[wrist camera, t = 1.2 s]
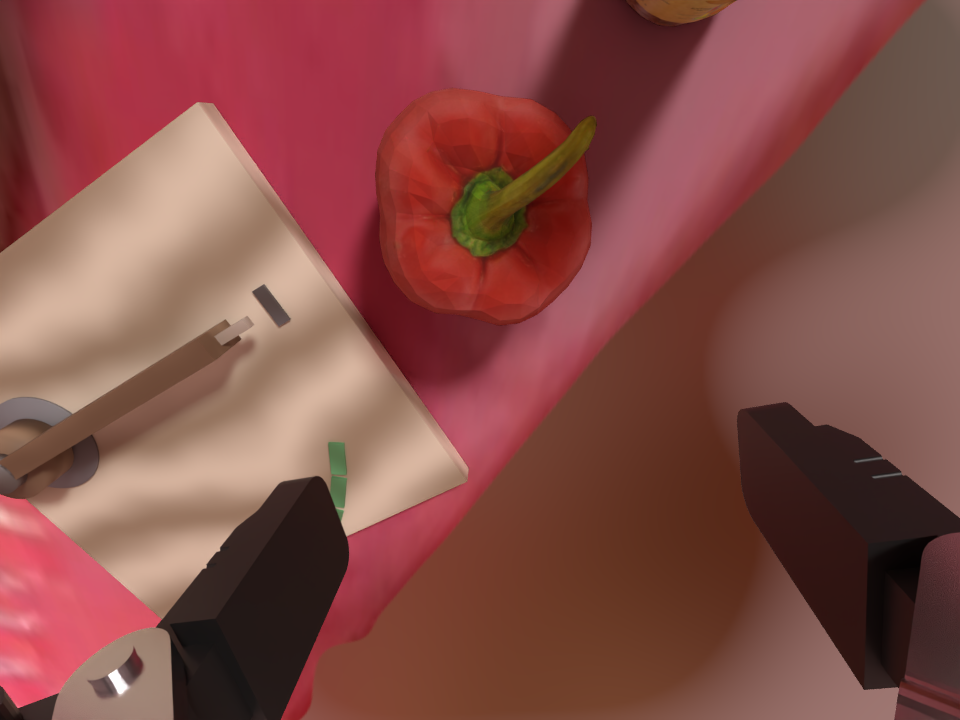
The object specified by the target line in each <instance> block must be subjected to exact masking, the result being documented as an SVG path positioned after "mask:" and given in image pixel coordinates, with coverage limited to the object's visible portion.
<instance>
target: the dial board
mask: <svg viewBox="0 0 960 720" xmlns="http://www.w3.org/2000/svg"><path fill="white" fill-rule="evenodd" d="M246 316H248V317H249V318H250V320H251V321H252V322H253V323H254V326H252V327H251V328H250V329H248V330H247V331H245V332H243V333H242V334H240V335H239V336H240V338H241V340H240V341H239V342H238V343H236V344H235V345H234V346H233V347H232V348H230V349H229V350H228V351H227V352H225V353H224V354H223V355H222V356H220V357H219V358H218V359H217V360H215V361H214V362H212V363H210V364H209V365H207V366H205V367H204V368H202V369H200V370H199V371H197V372H195V373H194V374H192V375H190V376H189V377H187V378H185V379H184V380H182V381H180V382H179V383H177V384H175V385H174V386H172V387H170V388H169V389H167V390H165V391H164V392H162V393H160V394H159V395H157V396H155V397H154V398H152V399H150V400H149V401H147V402H145V403H144V404H142V405H140V406H139V407H137V408H135V409H134V410H132V411H130V412H129V413H127V414H125V415H124V416H122V417H120V418H119V419H117V420H115V421H114V422H112V423H110V424H109V425H107V426H105V427H104V428H102V429H100V430H98V431H97V432H95V433H93V434H92V435H90V436H88V437H87V438H85V439H83V440H82V441H80V442H78V443H77V444H75V445H73V446H72V450H73V454H74V461H73V464H72V466H71V468H70V469H69V470H68V471H67V472H65V473H64V474H63V475H61V476H60V477H59V478H58V479H56V480H55V481H54V482H53V483H51V484H50V485H49V486H47V487H46V488H45V489H44V490H42V491H41V492H40V493H39V494H37V495H36V496H34V497H31V498H26V499H27V500H28V501H29V502H30V503H31V504H32V505H33V506H34V507H36V508H37V509H38V510H39V511H40V512H41V513H42V514H43V515H45V516H46V517H47V518H48V519H49V520H50V521H51V522H53V523H54V524H55V525H56V526H57V527H58V528H59V529H60V530H62V531H63V532H64V533H65V534H66V535H67V536H68V537H69V538H71V539H72V540H73V541H74V542H75V543H76V544H77V545H78V546H80V547H81V548H82V549H83V550H84V551H85V552H86V553H88V554H89V555H90V556H91V557H92V558H93V559H94V560H95V561H97V562H98V563H99V564H100V565H101V566H102V567H103V568H104V569H106V570H107V571H108V572H109V573H110V574H111V575H112V576H114V577H115V578H116V579H117V580H118V581H119V582H120V583H121V584H123V585H124V586H125V587H126V588H127V589H128V590H129V591H130V592H132V593H133V594H134V595H135V596H136V597H137V598H138V599H139V600H141V601H142V602H143V603H144V604H145V605H146V606H147V607H149V608H150V609H151V610H152V611H153V612H154V613H155V614H156V615H158V616H159V617H160V618H161V619H163V618H164V617H165V615H166V614H167V613H168V612H169V610H170V609H171V608H172V607H173V605H174V604H175V603H176V602H177V600H178V599H179V598H180V597H181V595H182V594H183V593H184V592H185V590H186V589H187V588H188V587H189V585H190V584H191V583H192V582H193V580H194V579H195V578H196V577H197V575H198V574H199V573H200V572H201V570H202V569H205V568H206V567H207V565H206V564H207V563H208V562H209V560H210V559H211V558H212V557H213V555H214V554H215V553H216V552H218V551H220V547H221V546H222V544H223V543H224V542H225V541H226V539H227V538H228V537H229V536H230V534H231V533H232V532H233V531H234V529H235V528H236V527H237V526H239V525H240V524H241V523H242V522H244V521H245V520H246V519H247V518H249V517H250V516H251V515H252V514H254V513H255V512H256V511H257V510H259V508H260V507H261V506H262V504H263V503H264V502H265V501H266V499H267V498H268V497H269V495H270V494H271V493H272V492H273V490H274V489H275V488H276V486H277V485H278V484H279V483H281V482H283V481H288V480H294V479H300V478H306V477H313V476H319V477H321V478H323V480H324V481H325V482H326V484H327V486H328V489H329V492H330V494H331V497H332V499H333V502H334V505H335V507H336V510H337V513H338V515H339V518H340V521H341V523H342V526H343V529H344V531H345V534H346V536H348V535H351V534H353V533H355V532H357V531H359V530H362V529H364V528H366V527H368V526H370V525H373V524H375V523H377V522H379V521H381V520H384V519H386V518H388V517H390V516H392V515H395V514H397V513H399V512H401V511H403V510H406V509H408V508H410V507H412V506H414V505H417V504H419V503H421V502H423V501H425V500H428V499H430V498H432V497H434V496H436V495H439V494H441V493H443V492H445V491H447V490H450V489H452V488H454V487H456V486H458V485H461V484H463V483H465V482H467V478H468V466H467V465H466V464H465V462H464V461H463V459H462V458H461V457H460V455H459V454H458V452H457V451H456V449H455V448H454V447H453V445H452V444H451V442H450V441H449V439H448V438H447V437H446V435H445V434H444V432H443V431H442V429H441V428H440V427H439V425H438V424H437V422H436V421H435V419H434V418H433V417H432V415H431V414H430V412H429V411H428V409H427V408H426V407H425V405H424V404H423V402H422V401H421V399H420V398H419V397H418V395H417V394H416V392H415V391H414V389H413V388H412V387H411V385H410V384H409V382H408V381H407V379H406V378H405V377H404V375H403V374H402V372H401V371H400V369H399V368H398V367H397V365H396V364H395V362H394V361H393V360H392V358H391V357H390V355H389V354H388V352H387V351H386V350H385V348H384V347H383V345H382V344H381V342H380V341H379V340H378V338H377V337H376V335H375V334H374V332H373V331H372V330H371V328H370V327H369V325H368V324H367V322H366V321H365V320H364V318H363V317H362V315H361V314H360V312H359V311H358V310H357V308H356V307H355V305H354V304H353V302H352V301H351V300H350V298H349V297H348V295H347V294H346V292H345V291H344V290H343V288H342V287H341V285H340V284H339V282H338V281H337V280H336V278H335V277H334V275H333V274H332V272H331V271H330V270H329V268H328V267H327V265H326V264H325V263H324V261H323V260H322V258H321V257H320V255H319V254H318V253H317V251H316V250H315V248H314V247H313V245H312V244H311V243H310V241H309V240H308V238H307V237H306V235H305V234H304V233H303V231H302V230H301V228H300V227H299V225H298V224H297V223H296V221H295V220H294V218H293V217H292V215H291V214H290V213H289V211H288V210H287V208H286V207H285V205H284V204H283V203H282V201H281V200H280V198H279V197H278V195H277V194H276V193H275V191H274V190H273V188H272V187H271V185H270V184H269V183H268V181H267V180H266V178H265V177H264V175H263V174H262V173H261V171H260V170H259V168H258V167H257V166H256V164H255V163H254V161H253V160H252V158H251V157H250V156H249V154H248V153H247V151H246V150H245V148H244V147H243V146H242V144H241V143H240V141H239V140H238V138H237V137H236V136H235V134H234V133H233V131H232V130H231V128H230V127H229V126H228V124H227V123H226V121H225V120H224V118H223V117H222V116H221V114H220V113H219V111H218V110H217V108H216V107H215V106H214V104H212V103H201V102H197V103H196V104H195V105H193V106H192V107H191V108H189V109H188V110H187V111H185V112H184V113H183V114H181V115H180V116H179V117H178V118H176V119H175V120H174V121H172V122H171V123H170V124H168V125H167V126H166V127H164V128H163V129H162V130H161V131H159V132H158V133H157V134H155V135H154V136H153V137H151V138H150V139H149V140H147V141H146V142H145V143H144V144H142V145H141V146H140V147H138V148H137V149H136V150H134V151H133V152H132V153H130V154H129V155H128V156H127V157H125V158H124V159H123V160H121V161H120V162H119V163H117V164H116V165H115V166H113V167H112V168H111V169H110V170H108V171H107V172H106V173H104V174H103V175H102V176H100V177H99V178H98V179H96V180H95V181H94V182H93V183H91V184H90V185H89V186H87V187H86V188H85V189H83V190H82V191H81V192H79V193H78V194H77V195H76V196H74V197H73V198H72V199H70V200H69V201H68V202H66V203H65V204H64V205H62V206H61V207H60V208H59V209H57V210H56V211H55V212H53V213H52V214H51V215H49V216H48V217H47V218H45V219H44V220H43V221H42V222H40V223H39V224H38V225H36V226H35V227H34V228H32V229H31V230H30V231H28V232H27V233H26V234H25V235H23V236H22V237H21V238H19V239H18V240H17V241H15V242H14V243H13V244H11V245H10V246H9V247H8V248H6V249H5V250H4V251H2V252H1V253H0V429H2V428H4V427H5V426H7V425H9V424H10V423H12V422H14V421H16V420H19V419H35V420H39V421H42V422H45V423H47V424H49V425H51V426H54V425H56V424H57V423H59V422H61V421H62V420H64V419H65V418H67V417H69V416H70V415H72V414H73V413H75V412H77V411H78V410H80V409H82V408H83V407H85V406H86V405H88V404H90V403H91V402H93V401H94V400H96V399H98V398H99V397H101V396H102V395H104V394H106V393H107V392H109V391H111V390H112V389H114V388H115V387H117V386H119V385H120V384H122V383H123V382H125V381H127V380H128V379H130V378H132V377H133V376H135V375H136V374H138V373H140V372H141V371H143V370H144V369H146V368H148V367H149V366H151V365H153V364H154V363H156V362H157V361H159V360H161V359H162V358H164V357H165V356H167V355H169V354H170V353H172V352H173V351H175V350H177V349H178V348H180V347H182V346H183V345H185V344H186V343H188V342H190V341H191V340H193V339H194V338H196V337H198V336H199V335H201V334H203V333H204V332H206V331H207V330H209V329H211V328H212V327H214V326H215V325H217V324H219V323H220V322H222V321H224V320H225V319H226V320H227V322H228V323H229V324H230V325H233V324H235V323H236V322H238V321H239V320H241V319H243V318H244V317H246Z"/></svg>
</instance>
